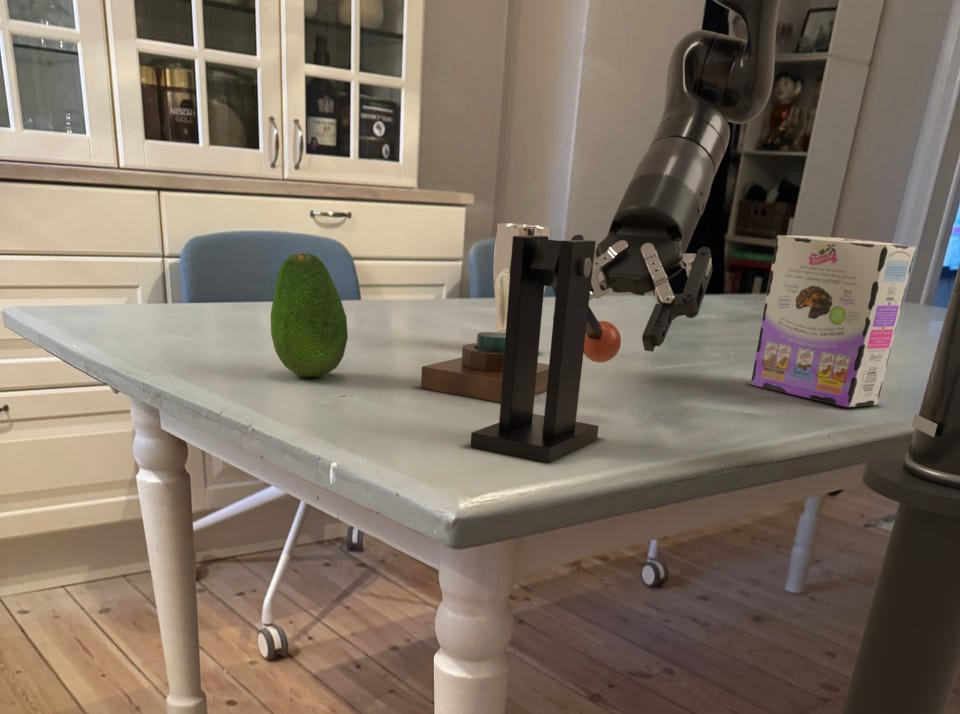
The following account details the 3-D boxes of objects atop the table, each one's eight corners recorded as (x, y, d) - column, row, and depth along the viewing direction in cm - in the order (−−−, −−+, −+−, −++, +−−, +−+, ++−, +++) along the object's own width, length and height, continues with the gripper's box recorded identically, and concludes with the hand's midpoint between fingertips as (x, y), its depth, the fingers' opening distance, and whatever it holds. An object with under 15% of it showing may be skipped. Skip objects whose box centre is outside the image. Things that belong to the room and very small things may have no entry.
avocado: (259, 372, 97) (254, 248, 92) (326, 368, 101) (325, 250, 96) (292, 387, 91) (289, 256, 86) (362, 382, 96) (363, 257, 90)
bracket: (525, 425, 83) (541, 233, 76) (597, 439, 80) (621, 241, 73) (470, 447, 75) (483, 235, 68) (548, 463, 72) (569, 243, 65)
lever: (582, 365, 87) (594, 329, 87) (618, 371, 85) (630, 334, 85) (518, 274, 71) (532, 229, 71) (561, 279, 69) (575, 233, 70)
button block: (557, 386, 101) (561, 348, 99) (506, 403, 91) (510, 361, 89) (477, 373, 105) (479, 336, 103) (420, 388, 95) (422, 347, 93)
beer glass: (533, 348, 124) (544, 225, 117) (547, 357, 118) (559, 228, 111) (482, 346, 122) (490, 222, 116) (494, 355, 116) (503, 225, 109)
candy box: (879, 406, 103) (920, 244, 95) (847, 410, 99) (886, 243, 92) (779, 381, 112) (809, 234, 105) (747, 384, 109) (775, 232, 102)
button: (516, 352, 97) (518, 335, 96) (500, 356, 94) (502, 338, 93) (486, 348, 98) (487, 330, 98) (470, 351, 96) (471, 334, 95)
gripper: (587, 166, 88) (523, 301, 84) (734, 175, 83) (672, 320, 78) (601, 226, 95) (542, 354, 91) (738, 239, 89) (682, 376, 85)
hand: (603, 338), depth 85 cm, fingers open, 8 cm apart
